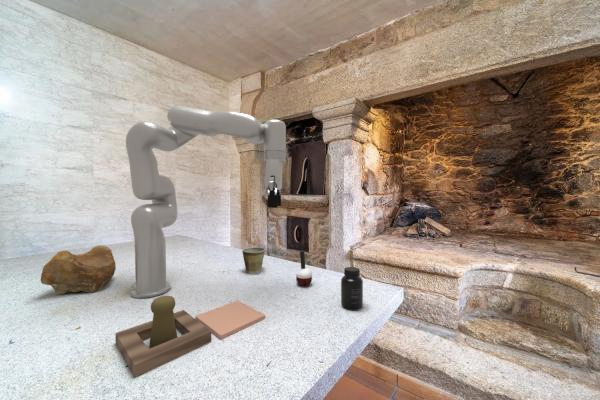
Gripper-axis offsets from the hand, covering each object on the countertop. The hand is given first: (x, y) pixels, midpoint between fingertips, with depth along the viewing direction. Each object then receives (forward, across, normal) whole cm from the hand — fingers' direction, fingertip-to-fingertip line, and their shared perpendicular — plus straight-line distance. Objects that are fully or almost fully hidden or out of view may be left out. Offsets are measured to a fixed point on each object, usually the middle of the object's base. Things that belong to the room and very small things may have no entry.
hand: (274, 206), depth 87 cm
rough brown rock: (+32, -2, -70) cm, 77 cm away
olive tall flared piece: (+31, +29, -23) cm, 48 cm away
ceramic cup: (+31, -26, -13) cm, 43 cm away
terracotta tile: (+31, +18, -10) cm, 37 cm away
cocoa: (+31, -10, +10) cm, 34 cm away
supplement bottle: (+31, +8, +26) cm, 41 cm away
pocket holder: (+31, +29, -23) cm, 48 cm away
